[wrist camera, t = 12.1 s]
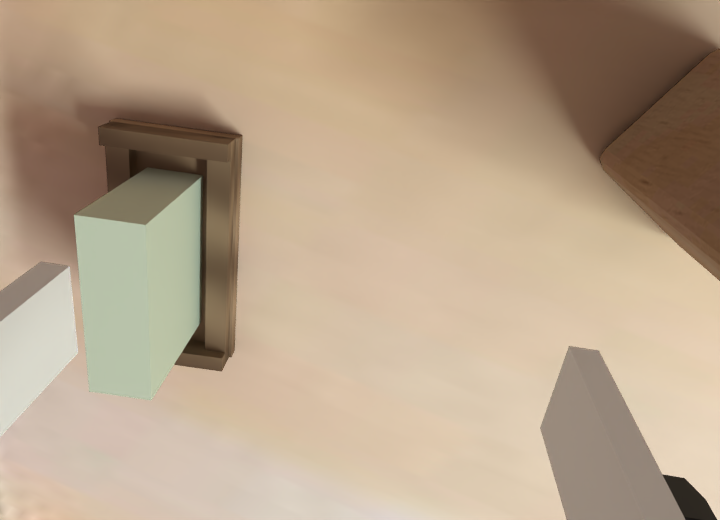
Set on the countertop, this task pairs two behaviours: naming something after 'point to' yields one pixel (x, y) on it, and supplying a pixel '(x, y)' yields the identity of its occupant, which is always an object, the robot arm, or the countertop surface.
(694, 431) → the countertop surface
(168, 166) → the track
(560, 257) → the countertop surface
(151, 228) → the rectangular block
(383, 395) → the countertop surface
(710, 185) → the wooden block
